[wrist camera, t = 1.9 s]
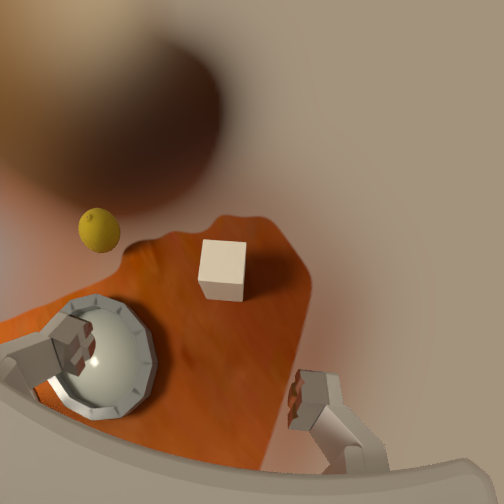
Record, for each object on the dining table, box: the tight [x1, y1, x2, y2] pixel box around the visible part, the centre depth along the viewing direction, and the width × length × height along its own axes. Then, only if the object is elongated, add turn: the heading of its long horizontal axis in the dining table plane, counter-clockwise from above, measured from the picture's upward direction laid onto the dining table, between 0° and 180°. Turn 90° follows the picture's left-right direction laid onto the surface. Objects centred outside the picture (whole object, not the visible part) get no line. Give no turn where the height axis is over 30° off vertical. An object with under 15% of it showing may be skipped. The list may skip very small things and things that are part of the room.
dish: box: [48, 294, 158, 420], centre depth 33 cm, size 16×16×3 cm
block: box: [198, 240, 246, 302], centre depth 35 cm, size 5×5×8 cm
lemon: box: [79, 208, 120, 253], centre depth 36 cm, size 6×6×8 cm
